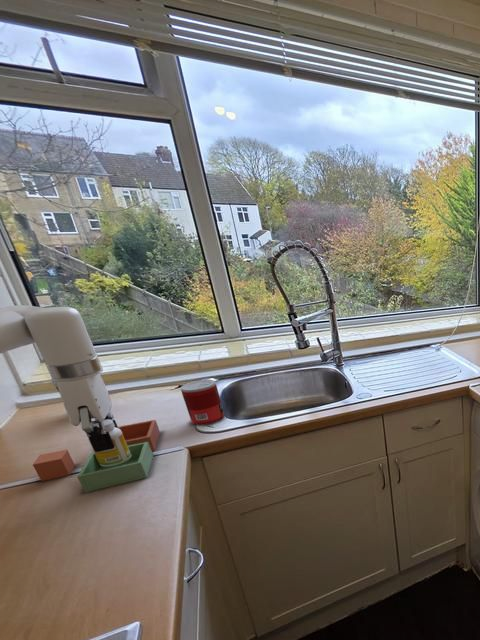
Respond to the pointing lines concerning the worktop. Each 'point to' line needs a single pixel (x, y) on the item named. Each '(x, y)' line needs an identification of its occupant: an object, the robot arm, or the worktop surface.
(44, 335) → the robot arm
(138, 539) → the worktop surface
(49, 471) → the terracotta block
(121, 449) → the supplement bottle
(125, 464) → the green bin
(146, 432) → the terracotta bin
